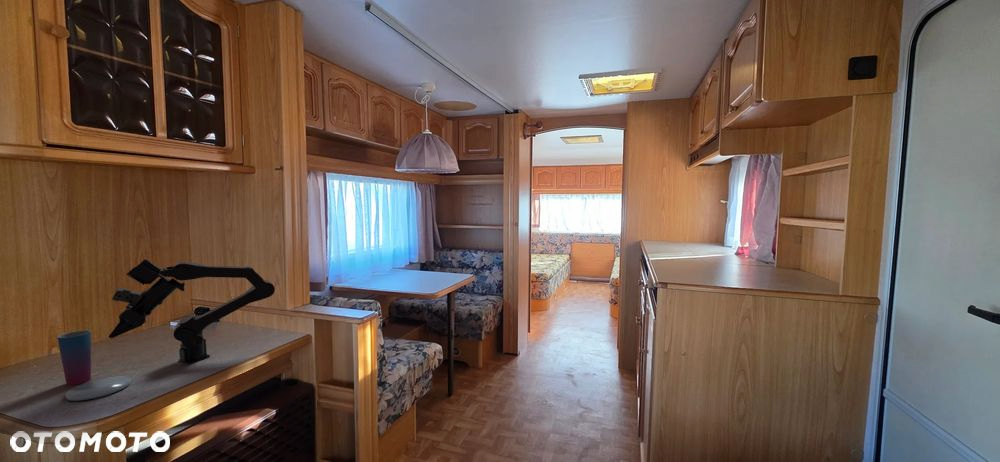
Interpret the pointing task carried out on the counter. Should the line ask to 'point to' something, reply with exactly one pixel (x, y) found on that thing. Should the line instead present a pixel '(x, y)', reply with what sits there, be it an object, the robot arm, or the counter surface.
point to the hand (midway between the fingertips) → (113, 333)
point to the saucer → (98, 388)
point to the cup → (76, 356)
